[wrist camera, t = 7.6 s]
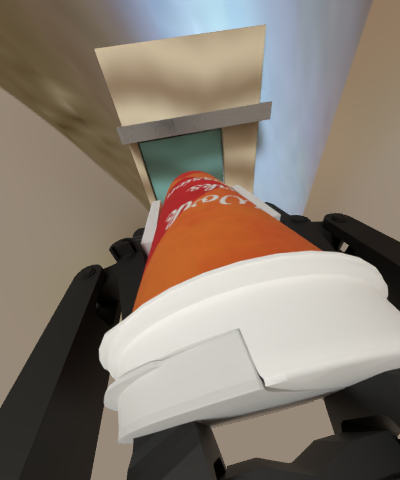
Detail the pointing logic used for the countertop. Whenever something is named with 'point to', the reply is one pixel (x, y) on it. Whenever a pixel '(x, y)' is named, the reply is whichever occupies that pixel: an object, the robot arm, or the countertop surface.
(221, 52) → the board
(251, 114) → the rail
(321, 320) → the coffee cup
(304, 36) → the countertop surface
